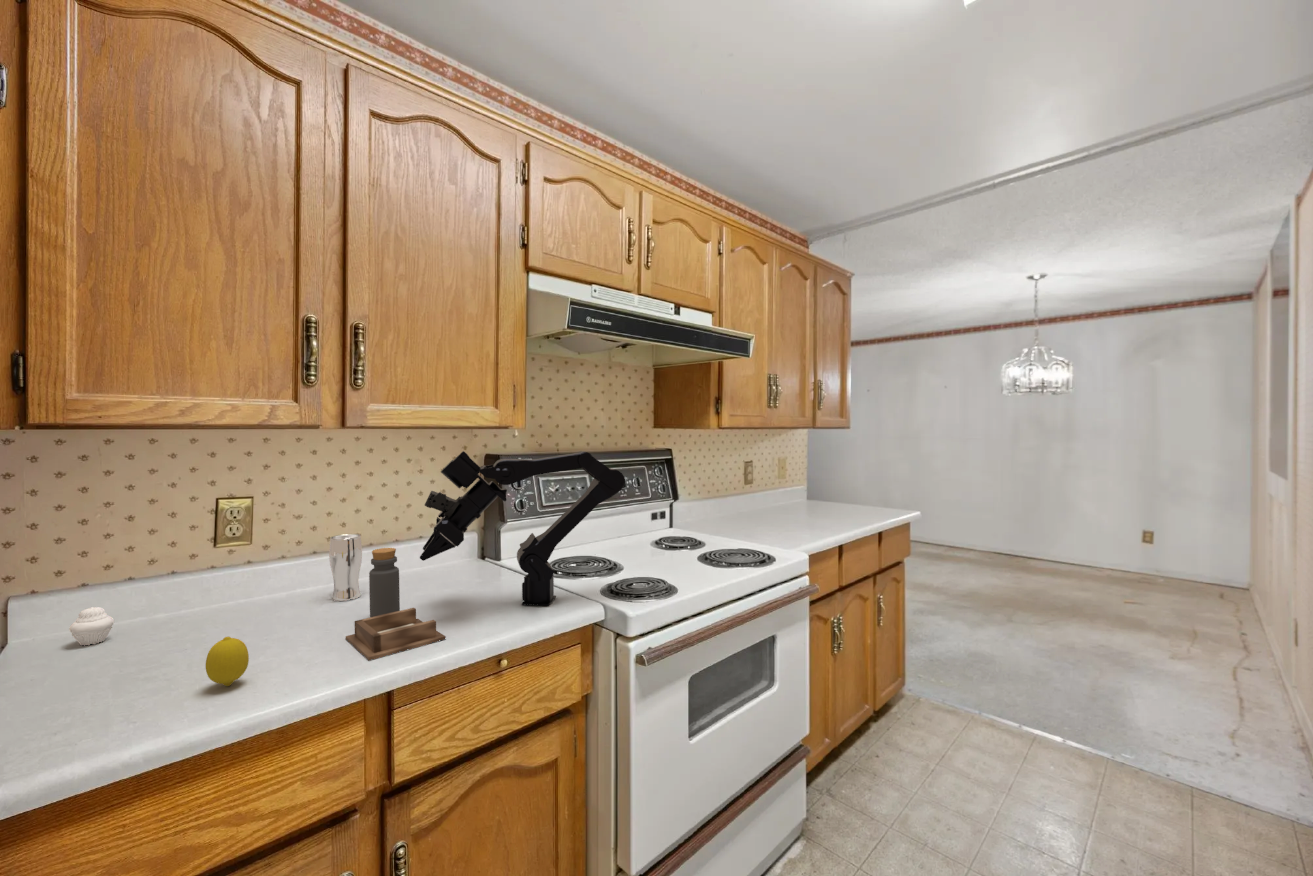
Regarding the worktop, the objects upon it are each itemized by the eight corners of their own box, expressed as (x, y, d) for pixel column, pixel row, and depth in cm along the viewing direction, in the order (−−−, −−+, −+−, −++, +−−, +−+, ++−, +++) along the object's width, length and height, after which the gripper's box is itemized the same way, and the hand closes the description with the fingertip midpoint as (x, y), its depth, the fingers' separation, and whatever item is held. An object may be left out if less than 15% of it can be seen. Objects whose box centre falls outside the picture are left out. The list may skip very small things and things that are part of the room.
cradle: (417, 621, 119) (417, 604, 119) (445, 639, 109) (445, 621, 109) (345, 639, 109) (345, 621, 109) (368, 660, 99) (368, 640, 99)
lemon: (221, 678, 92) (220, 631, 92) (257, 677, 93) (255, 630, 93) (197, 695, 87) (195, 644, 87) (234, 693, 87) (233, 643, 87)
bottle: (387, 624, 118) (386, 553, 117) (363, 622, 119) (362, 552, 118) (405, 614, 123) (404, 547, 123) (382, 613, 125) (381, 546, 124)
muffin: (87, 638, 111) (86, 603, 110) (122, 635, 112) (121, 601, 112) (60, 650, 105) (59, 613, 104) (98, 647, 106) (97, 611, 106)
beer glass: (368, 596, 137) (367, 535, 137) (339, 603, 131) (338, 540, 131) (353, 591, 141) (351, 532, 140) (324, 599, 135) (323, 537, 134)
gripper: (448, 474, 133) (398, 523, 130) (446, 482, 116) (388, 538, 112) (483, 505, 136) (435, 554, 133) (486, 517, 119) (431, 574, 115)
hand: (422, 554), depth 123 cm, fingers open, 9 cm apart
